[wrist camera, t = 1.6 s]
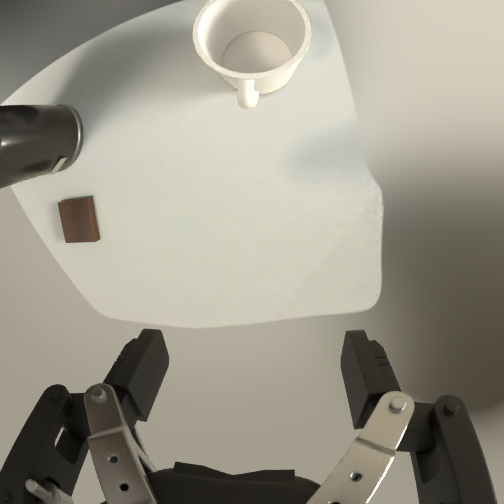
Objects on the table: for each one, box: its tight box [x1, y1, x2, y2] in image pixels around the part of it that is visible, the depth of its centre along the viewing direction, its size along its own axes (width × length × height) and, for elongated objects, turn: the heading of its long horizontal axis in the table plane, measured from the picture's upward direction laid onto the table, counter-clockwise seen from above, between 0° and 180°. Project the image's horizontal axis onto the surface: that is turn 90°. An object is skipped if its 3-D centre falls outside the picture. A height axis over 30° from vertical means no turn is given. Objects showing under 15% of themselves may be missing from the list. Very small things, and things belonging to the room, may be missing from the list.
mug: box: [193, 0, 311, 109], centre depth 21 cm, size 11×9×10 cm
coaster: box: [58, 197, 100, 243], centre depth 33 cm, size 6×6×1 cm
